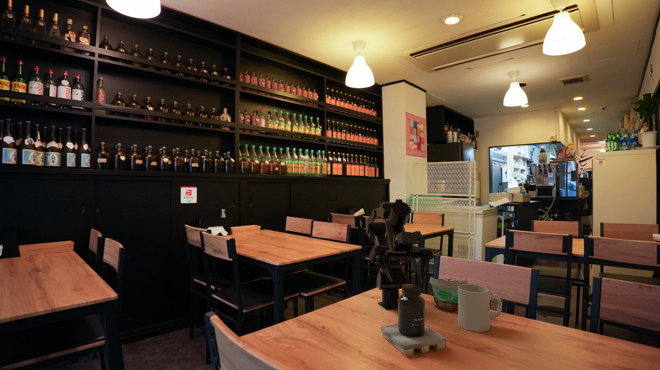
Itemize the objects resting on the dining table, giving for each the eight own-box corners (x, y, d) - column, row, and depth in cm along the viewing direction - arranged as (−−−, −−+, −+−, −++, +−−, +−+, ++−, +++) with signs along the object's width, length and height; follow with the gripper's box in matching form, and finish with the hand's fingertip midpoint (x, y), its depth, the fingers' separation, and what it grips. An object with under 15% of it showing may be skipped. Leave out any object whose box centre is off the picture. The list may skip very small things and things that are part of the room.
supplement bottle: (420, 340, 83) (420, 291, 83) (394, 334, 86) (393, 287, 86) (428, 330, 89) (427, 284, 89) (403, 324, 92) (402, 281, 92)
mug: (463, 331, 93) (462, 292, 93) (454, 319, 102) (454, 283, 102) (508, 333, 92) (507, 293, 92) (495, 321, 101) (495, 284, 101)
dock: (380, 336, 91) (380, 326, 91) (418, 329, 95) (418, 320, 95) (404, 356, 80) (404, 346, 80) (446, 348, 84) (446, 338, 84)
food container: (428, 310, 110) (427, 280, 110) (430, 304, 115) (429, 275, 115) (468, 315, 105) (468, 283, 105) (468, 309, 111) (468, 278, 111)
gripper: (376, 218, 98) (385, 266, 88) (434, 222, 102) (450, 269, 91) (365, 238, 106) (373, 285, 96) (420, 242, 110) (432, 287, 100)
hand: (407, 281), depth 96 cm, fingers open, 9 cm apart
